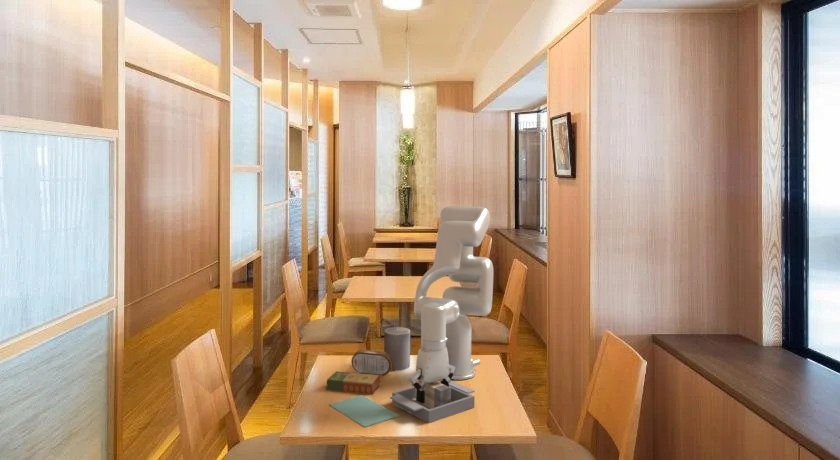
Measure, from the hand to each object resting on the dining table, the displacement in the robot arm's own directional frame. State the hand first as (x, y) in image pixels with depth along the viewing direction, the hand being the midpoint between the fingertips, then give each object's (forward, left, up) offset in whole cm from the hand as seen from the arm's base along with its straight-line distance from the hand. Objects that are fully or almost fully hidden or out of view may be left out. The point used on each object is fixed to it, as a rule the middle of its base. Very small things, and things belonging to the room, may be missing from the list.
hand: (432, 398), depth 176 cm
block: (0, 0, -2) cm, 2 cm away
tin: (-1, -35, -3) cm, 35 cm away
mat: (+19, -10, -2) cm, 22 cm away
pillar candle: (-13, -36, -3) cm, 38 cm away
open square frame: (0, 0, -2) cm, 2 cm away
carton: (+11, -28, -3) cm, 30 cm away
